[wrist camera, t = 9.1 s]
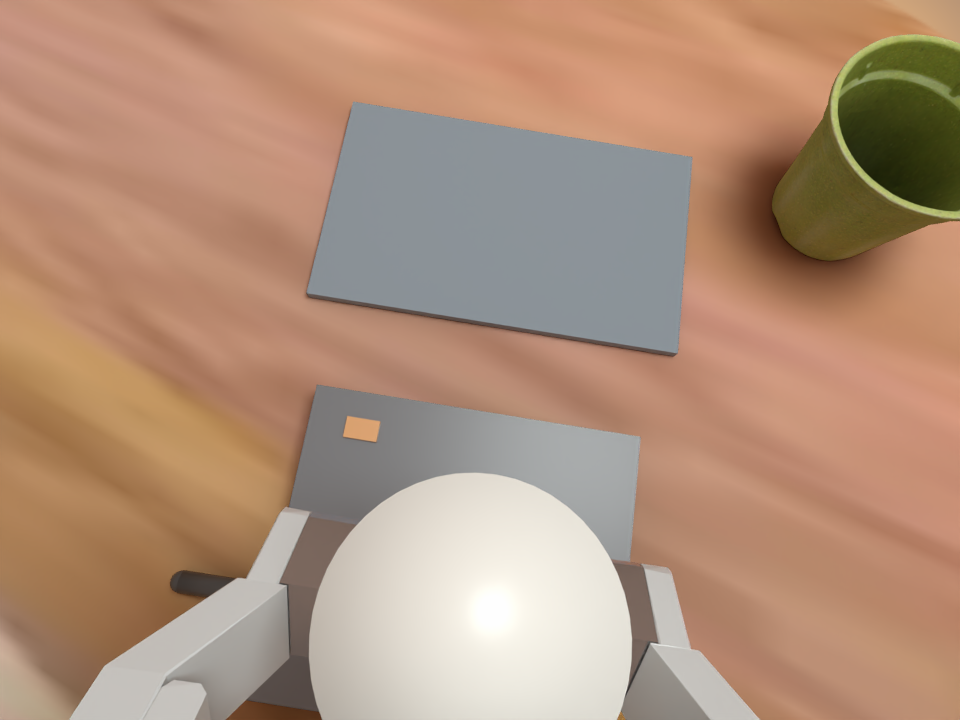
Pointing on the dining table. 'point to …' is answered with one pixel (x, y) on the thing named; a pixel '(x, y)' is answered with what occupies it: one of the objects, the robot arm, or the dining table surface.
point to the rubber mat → (506, 229)
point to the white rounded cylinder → (470, 610)
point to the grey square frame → (432, 453)
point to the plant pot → (878, 152)
